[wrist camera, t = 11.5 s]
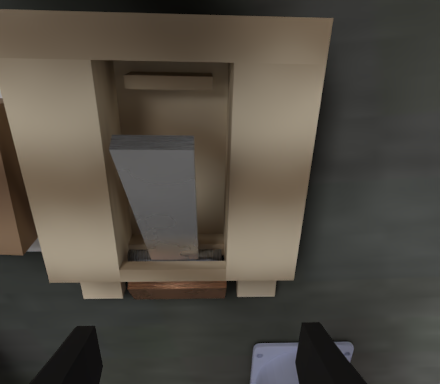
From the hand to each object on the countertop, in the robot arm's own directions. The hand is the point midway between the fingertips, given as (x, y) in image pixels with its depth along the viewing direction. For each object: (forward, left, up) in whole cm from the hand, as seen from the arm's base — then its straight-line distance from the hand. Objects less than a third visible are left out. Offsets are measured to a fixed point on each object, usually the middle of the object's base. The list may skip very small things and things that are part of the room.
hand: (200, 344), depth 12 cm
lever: (+1, +1, -6) cm, 6 cm away
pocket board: (+2, +2, -10) cm, 11 cm away
